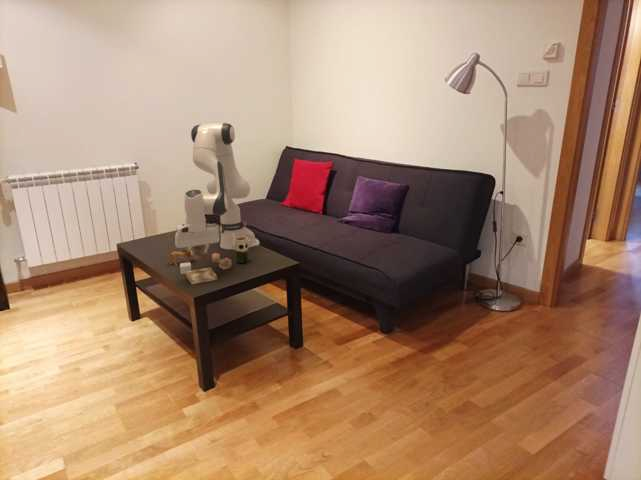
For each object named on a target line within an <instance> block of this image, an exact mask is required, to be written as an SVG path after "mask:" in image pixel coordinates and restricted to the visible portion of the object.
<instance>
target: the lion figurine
mask: <svg viewBox="0 0 641 480" xmlns="http://www.w3.org/2000/svg"><path fill="white" fill-rule="evenodd" d="M193 247H195V246H191V250H192V251H193ZM168 257H169V258H168V263H167V264H166V266H169V265H173V264H174V265H175V266H178V263H176V262H177V259H181V260H182V259H185V263H189V262H190V258H192V257H193V255H191V253H190V250H189V249H188V247H185V249H183V250H181V251H172V252H171V253H170V254H169V256H168ZM172 261H173V262H172Z"/></svg>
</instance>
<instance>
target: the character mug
mask: <svg viewBox="0 0 641 480" xmlns="http://www.w3.org/2000/svg"><path fill="white" fill-rule="evenodd" d="M248 242H249V244H248ZM233 245H234V246H235V247H233ZM250 245H251V240H248V237H246V236H238V237H235V238H234V243H232V249H235V250H234V251H236V260H235V261H236V262H237V263H239V264H243V263H244V264H245V263H248V262H249V255H248V250H249V249H250V247H249V246H250ZM232 249H231V250H232Z"/></svg>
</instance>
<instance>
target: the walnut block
mask: <svg viewBox="0 0 641 480" xmlns="http://www.w3.org/2000/svg"><path fill="white" fill-rule="evenodd" d="M204 249H205V247H204V246H203V245H197V246H194V247H193V251H194V254H195V255H192V257H193V259H195V261H197V260H198V261H199V260H203V259H206V253H205V250H204Z"/></svg>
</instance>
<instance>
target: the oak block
mask: <svg viewBox="0 0 641 480" xmlns="http://www.w3.org/2000/svg"><path fill="white" fill-rule="evenodd" d="M218 267H219V268H220V269H222V270H227V269H231V268H232V259H230V258H228V257H225V258H224V257H223V258H220V260H219V263H218Z"/></svg>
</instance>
